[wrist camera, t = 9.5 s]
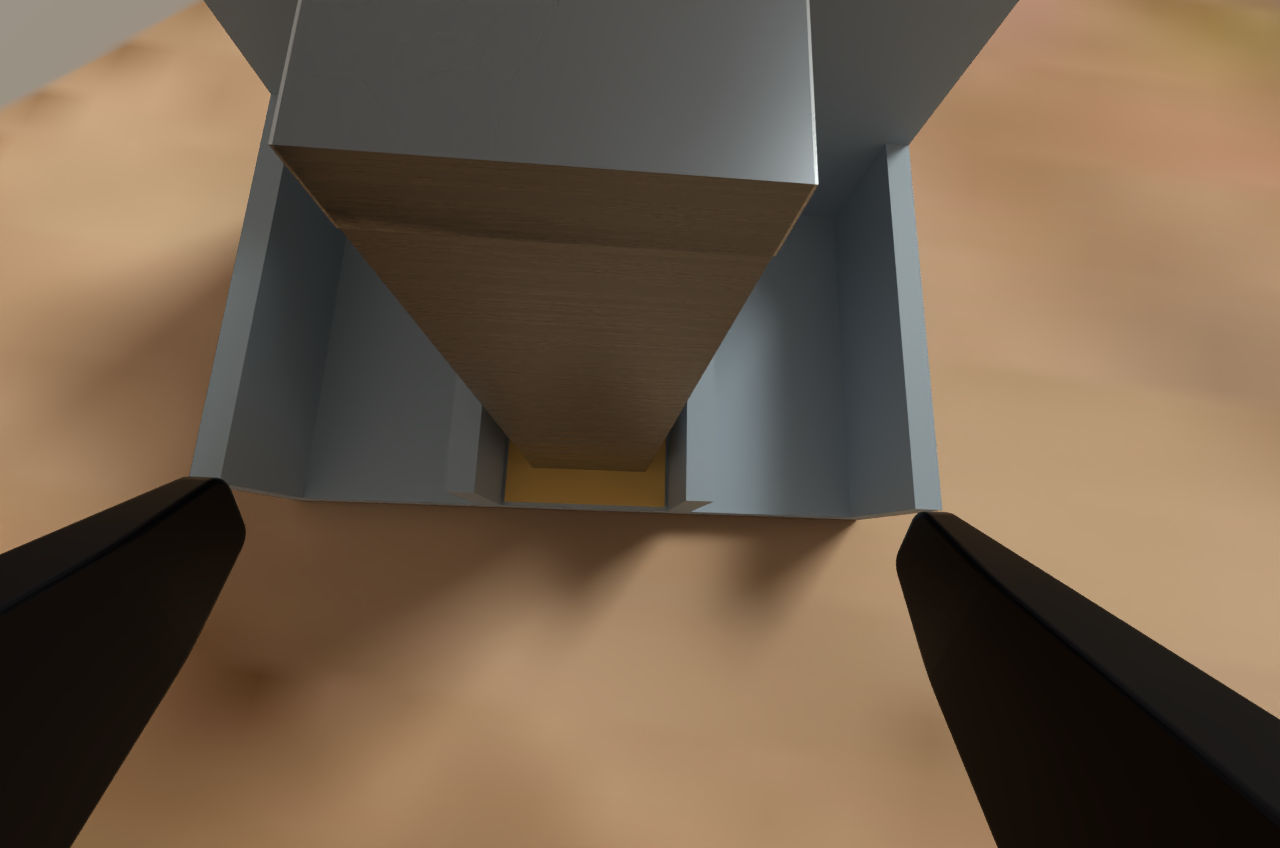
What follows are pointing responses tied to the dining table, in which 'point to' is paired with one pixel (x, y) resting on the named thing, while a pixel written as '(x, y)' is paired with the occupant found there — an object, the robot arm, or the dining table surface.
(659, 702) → the dining table surface
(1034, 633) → the robot arm
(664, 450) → the rack
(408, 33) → the grey rectangular block
